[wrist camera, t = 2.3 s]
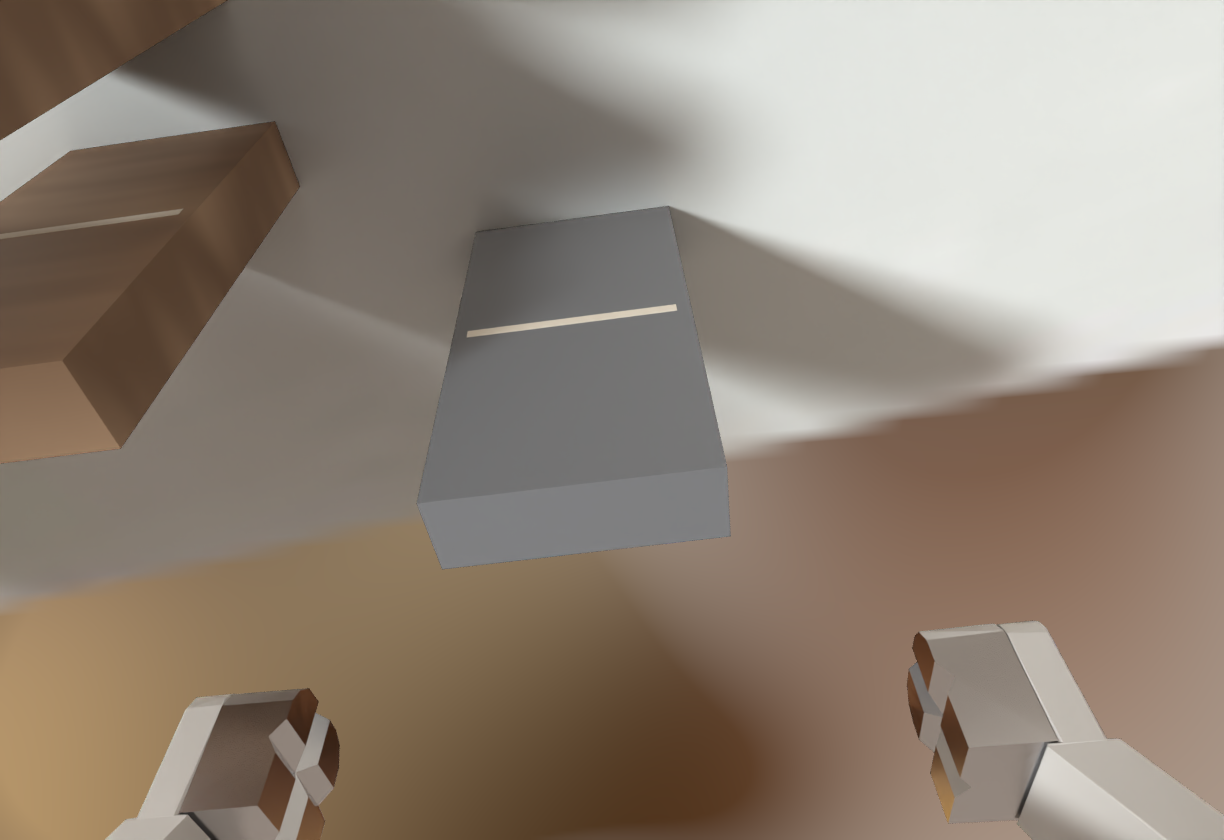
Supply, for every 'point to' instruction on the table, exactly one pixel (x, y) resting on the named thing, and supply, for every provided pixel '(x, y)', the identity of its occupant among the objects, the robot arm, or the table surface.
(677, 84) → the table surface
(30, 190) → the domino
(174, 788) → the robot arm
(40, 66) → the domino
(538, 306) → the end domino
